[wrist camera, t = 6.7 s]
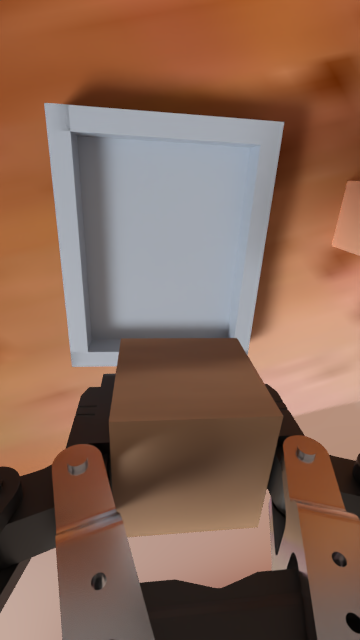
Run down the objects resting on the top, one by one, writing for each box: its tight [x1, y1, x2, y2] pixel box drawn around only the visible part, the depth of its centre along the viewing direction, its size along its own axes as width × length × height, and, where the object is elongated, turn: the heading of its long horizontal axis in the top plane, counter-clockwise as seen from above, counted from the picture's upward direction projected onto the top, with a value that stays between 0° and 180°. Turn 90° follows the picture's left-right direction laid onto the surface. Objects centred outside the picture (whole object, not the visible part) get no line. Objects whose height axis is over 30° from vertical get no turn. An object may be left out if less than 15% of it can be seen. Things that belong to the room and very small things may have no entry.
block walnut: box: [109, 338, 283, 537], centre depth 11 cm, size 4×4×4 cm
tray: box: [44, 103, 284, 367], centre depth 21 cm, size 16×13×2 cm
